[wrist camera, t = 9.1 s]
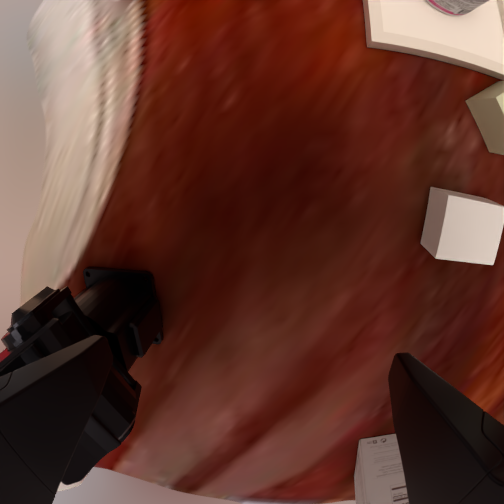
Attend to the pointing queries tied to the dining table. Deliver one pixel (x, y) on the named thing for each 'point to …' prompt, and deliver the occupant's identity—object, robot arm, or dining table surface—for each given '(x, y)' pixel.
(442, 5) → the pill bottle
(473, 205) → the white block
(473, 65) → the tray
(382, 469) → the supplement box
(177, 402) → the dining table surface
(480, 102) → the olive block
